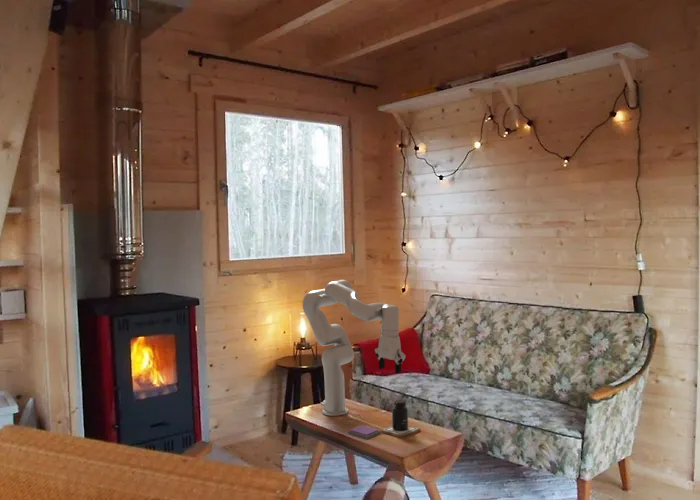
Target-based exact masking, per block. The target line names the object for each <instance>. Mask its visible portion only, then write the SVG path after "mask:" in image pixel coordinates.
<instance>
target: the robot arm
mask: <svg viewBox="0 0 700 500" xmlns="http://www.w3.org/2000/svg"><path fill="white" fill-rule="evenodd" d="M336 303H339V304H341V305H343V306H345V307H347V309H348V311H349V312H350V314H351V315H352V316H354V317H356V318H358V319H360V320H362V321H363V322H373V321H379V320H381V328H380V332H381V334H380V336H379V340H378V347H377V348H375V349H374V352H375V355H376V357H377V360H378V369H379V370H382V369H385V368H386V367H385V363H386V360H385V359H387V360H391V361H394V362H395V363H396V364H395V365H394V367H395V368H394V370H395V371H394V372H395V374H400V373H401V372H402V364H403V362H405V359H406V354H405V353H404V352H403V351H402V349H401V348H402V346H401V345H402V344H401V338H400V336H399V334H400V333H399V329H400V328H399V327H400V326H399V324H400V323H399V319H400V317H399V315H400V310H399V306H398V305H396V304H387V303H385V302H373V303H369V304H366V303H365V302H362V301H360V294H359V292H358V291H357V290H355V289H353V285H352V283H351V282H350V281H349V280H346V279H339V280H334V281H330V282H328V283H327V284H326V286H325V288H322V289H316V290H315V289H314V290H311V291H309V292H307V293H306V294H305V295H304V296H303V300H302V309H303V312H304V314H305V316H306V318H307V319H308V321H309V325H310V326H311V329H312V331H313V334H314V336H315V339H316V342H317V343H318V345H320V346H322V347H328V346H331V345H332V346H331V347H328V348H326V349H324V350H323V352H322V354H321V363H322V366H323V367H322V368H323V378H324V400H323V401H322V402H320V405H321V406H322V407H323V409H322V414H323V415H325V416H331V417H338V416H343V415H347V414H348V413H349V412H350V411H349V410H350V409H349V408H348V407H346V397H345V396H346V395H345V393H346V392H345V391H346V390H345V374H344V371H343V368H342V366H343V365H346V364H348V363H350V362H352V361H353V359H354V357H355V351H354V348H353V346H352V343H351V341H350V338H349V336H348V334H347V332H346V329H345V328H344V327H343V326H342V325H341V324H339V323H332V324H331V323H330V321H329V320H328V318H327V315H326V314H325V313H324V312H323V310H321V309H320V308H323V307H328V306H331V305H335V304H336ZM333 345H334V346H333Z"/></svg>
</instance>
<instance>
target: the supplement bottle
mask: <svg viewBox="0 0 700 500" xmlns="http://www.w3.org/2000/svg"><path fill="white" fill-rule="evenodd" d="M393 403H394V407H393V408H392V411H391V414H392V415H391V418H392V419H391V420H392V421H391V422H392V423H391V424H392V425H391V426H392V428H393V429H394V430H396V431H405V430H407V429H408V426H409V409H408V408H407V406H406V405H407V404H406V400H404V399H403V400H402V399H398V400H397V399H396V400H395V401H394V402H393Z"/></svg>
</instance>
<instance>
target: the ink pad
mask: <svg viewBox="0 0 700 500" xmlns="http://www.w3.org/2000/svg"><path fill="white" fill-rule="evenodd" d="M347 434H348V435H352V436H355V437H358V438H362V439H365V440H368V439H371V438H373V437H375V436H378V435H380V434H382V433H381V430H380V429H377V428H373V427H369V426H365V425H359V426H357V427H354V428H352V429H350V430H347Z"/></svg>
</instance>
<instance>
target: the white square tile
mask: <svg viewBox="0 0 700 500" xmlns="http://www.w3.org/2000/svg"><path fill="white" fill-rule="evenodd" d="M380 431H381V433H380V434H385V435H389V436H393V437H396V438H399V439H406V438H407V437H410V436H412V435H414V434H417V433H419V432H421V428H419V427H415V426H411V425H408V429H407V430H405V431H396V430H394V429H393V428H392V425H391V426H388V427H386V428H384V429H381V430H380Z"/></svg>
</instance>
